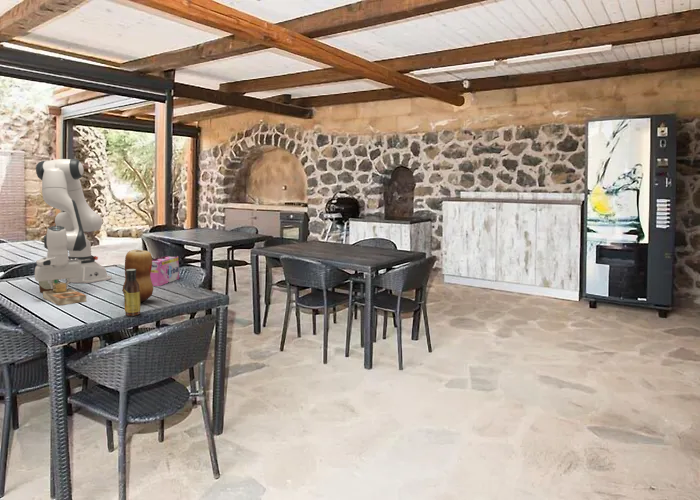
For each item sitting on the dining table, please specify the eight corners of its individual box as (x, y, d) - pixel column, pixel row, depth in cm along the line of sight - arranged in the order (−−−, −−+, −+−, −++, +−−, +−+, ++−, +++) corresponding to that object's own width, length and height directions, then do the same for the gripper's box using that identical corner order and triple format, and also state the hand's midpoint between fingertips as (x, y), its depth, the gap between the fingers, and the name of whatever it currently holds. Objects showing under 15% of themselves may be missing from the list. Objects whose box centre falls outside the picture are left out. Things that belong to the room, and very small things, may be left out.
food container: (66, 292, 262) (65, 273, 260) (56, 294, 256) (55, 275, 254) (48, 290, 266) (47, 271, 264) (37, 292, 260) (36, 273, 258)
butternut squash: (152, 305, 240) (150, 251, 237) (121, 306, 236) (119, 252, 233) (154, 298, 253) (153, 248, 250) (125, 299, 249) (123, 248, 246)
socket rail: (69, 294, 258) (69, 287, 258) (86, 301, 244) (86, 294, 243) (43, 297, 249) (42, 291, 249) (58, 305, 235) (58, 298, 235)
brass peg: (63, 296, 254) (62, 282, 253) (66, 297, 251) (66, 283, 250) (53, 297, 250) (52, 283, 249) (56, 298, 247) (56, 284, 247)
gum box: (168, 277, 306) (168, 255, 304) (180, 278, 305) (180, 255, 303) (145, 285, 283) (145, 261, 281) (159, 286, 281) (158, 261, 280)
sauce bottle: (127, 312, 225) (126, 268, 223) (142, 312, 226) (141, 268, 223) (122, 316, 219) (120, 270, 216) (137, 316, 220) (136, 270, 217)
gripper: (78, 257, 258) (79, 284, 260) (32, 261, 243) (34, 290, 245) (83, 258, 254) (84, 286, 255) (36, 262, 239) (38, 292, 240)
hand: (59, 288), depth 250 cm, fingers closed on brass peg, 4 cm apart
